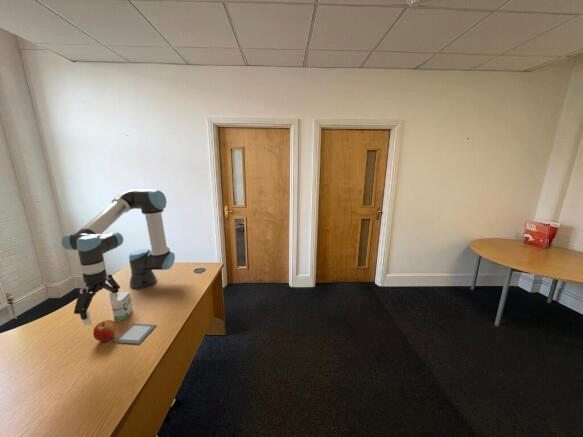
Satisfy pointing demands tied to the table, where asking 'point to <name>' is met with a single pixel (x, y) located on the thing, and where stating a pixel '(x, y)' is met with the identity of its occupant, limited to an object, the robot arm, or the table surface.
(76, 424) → the table surface
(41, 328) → the table surface
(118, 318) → the ink box
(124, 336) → the coaster
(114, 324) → the apple
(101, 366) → the table surface
